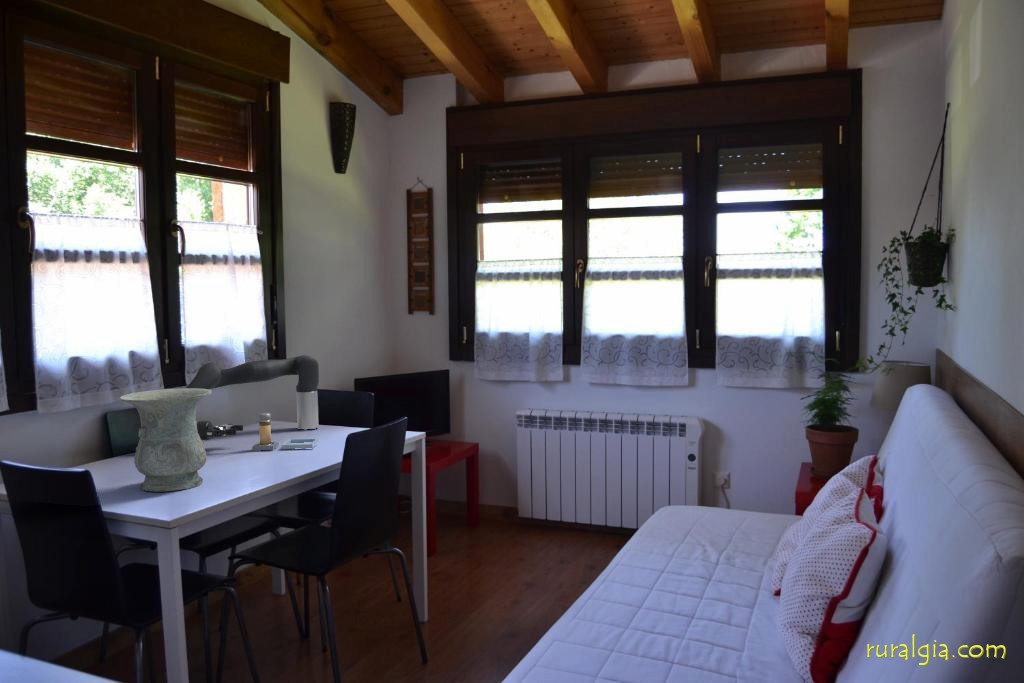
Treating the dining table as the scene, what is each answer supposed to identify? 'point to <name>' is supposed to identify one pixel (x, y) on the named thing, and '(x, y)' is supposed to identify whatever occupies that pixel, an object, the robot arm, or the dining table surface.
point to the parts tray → (292, 446)
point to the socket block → (265, 446)
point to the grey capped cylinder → (265, 428)
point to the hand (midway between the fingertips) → (239, 429)
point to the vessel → (169, 438)
